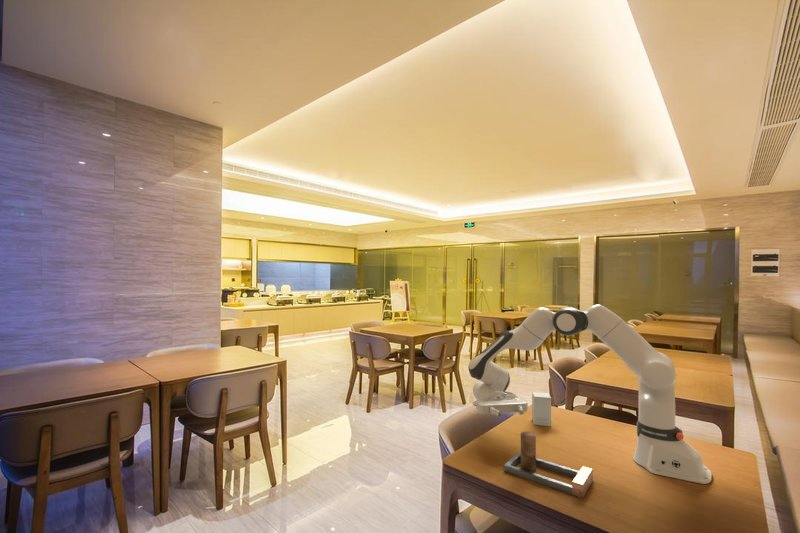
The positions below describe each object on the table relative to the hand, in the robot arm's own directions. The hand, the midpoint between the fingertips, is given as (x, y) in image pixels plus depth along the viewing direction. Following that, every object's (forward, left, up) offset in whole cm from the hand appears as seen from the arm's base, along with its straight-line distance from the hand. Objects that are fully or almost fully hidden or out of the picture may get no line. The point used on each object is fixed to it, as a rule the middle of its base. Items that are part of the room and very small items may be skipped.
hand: (510, 413), depth 146 cm
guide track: (-16, +8, -15) cm, 23 cm away
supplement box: (+1, -38, -15) cm, 41 cm away
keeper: (-10, +8, -15) cm, 19 cm away
